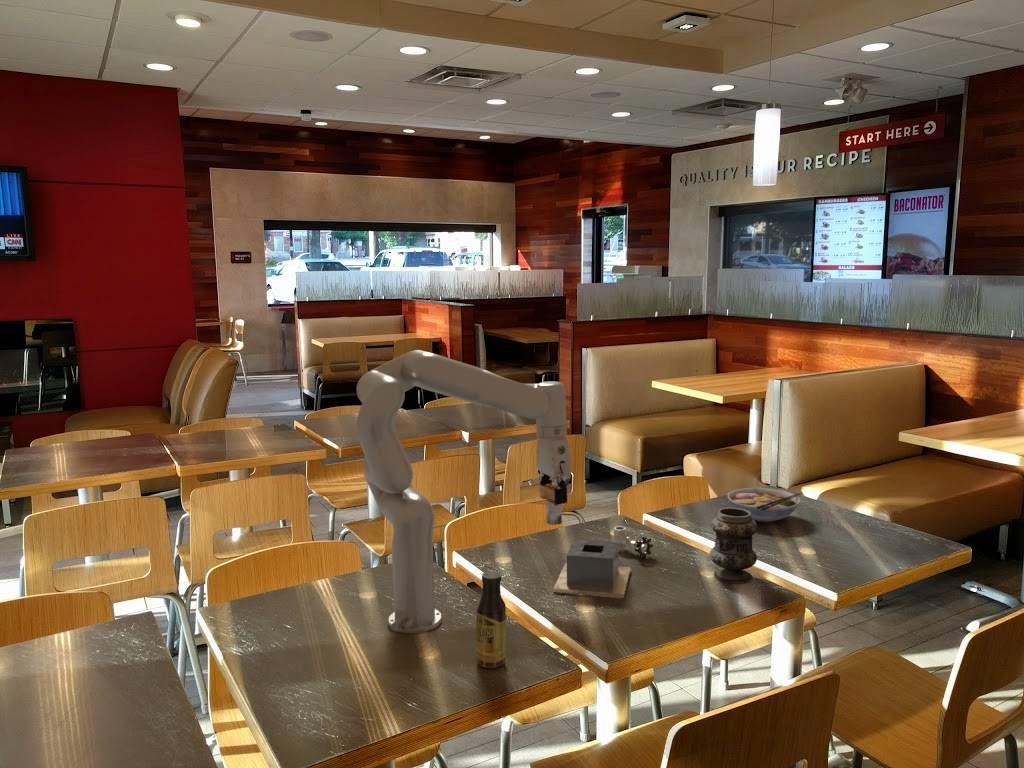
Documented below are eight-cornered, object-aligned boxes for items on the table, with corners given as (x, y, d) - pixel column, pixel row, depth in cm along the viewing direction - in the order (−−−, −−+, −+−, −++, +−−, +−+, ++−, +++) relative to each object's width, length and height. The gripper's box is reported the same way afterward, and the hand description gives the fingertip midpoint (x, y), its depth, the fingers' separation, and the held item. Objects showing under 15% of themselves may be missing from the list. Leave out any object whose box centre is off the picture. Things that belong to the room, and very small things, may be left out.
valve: (607, 550, 231) (637, 562, 221) (607, 528, 230) (637, 539, 220) (622, 545, 235) (653, 556, 225) (622, 524, 234) (653, 534, 224)
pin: (565, 527, 195) (564, 490, 194) (538, 526, 197) (536, 489, 196) (570, 518, 202) (569, 482, 201) (543, 517, 204) (542, 481, 202)
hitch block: (623, 598, 197) (623, 563, 195) (553, 592, 201) (552, 558, 200) (630, 571, 214) (630, 539, 213) (565, 566, 218) (565, 535, 217)
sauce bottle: (470, 663, 166) (467, 574, 163) (491, 652, 170) (489, 565, 167) (491, 674, 161) (489, 582, 159) (513, 663, 166) (511, 573, 163)
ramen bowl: (754, 503, 272) (754, 480, 271) (815, 519, 255) (816, 494, 254) (710, 519, 257) (710, 495, 255) (772, 536, 239) (773, 511, 238)
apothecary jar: (759, 571, 212) (761, 507, 210) (752, 588, 201) (754, 521, 199) (714, 565, 217) (715, 502, 215) (705, 581, 206) (706, 515, 204)
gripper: (582, 435, 190) (584, 506, 192) (547, 423, 205) (550, 488, 208) (555, 439, 186) (557, 511, 189) (522, 427, 202) (525, 493, 205)
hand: (553, 498), depth 199 cm, fingers closed on pin, 7 cm apart
